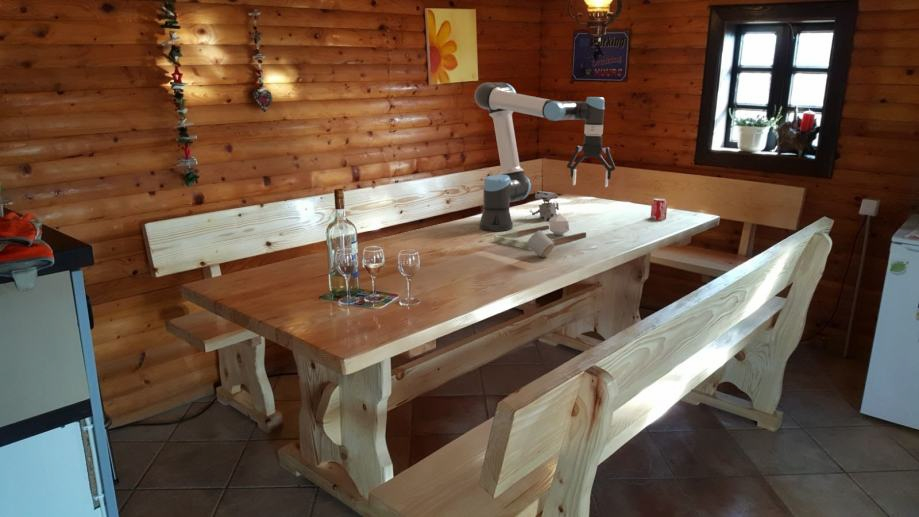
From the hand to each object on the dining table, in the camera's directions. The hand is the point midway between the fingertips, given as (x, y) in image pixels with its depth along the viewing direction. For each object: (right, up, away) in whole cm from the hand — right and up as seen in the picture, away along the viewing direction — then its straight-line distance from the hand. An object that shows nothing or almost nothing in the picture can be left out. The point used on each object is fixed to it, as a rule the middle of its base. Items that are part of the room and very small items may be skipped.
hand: (589, 185), depth 285 cm
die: (-12, -21, +5) cm, 25 cm away
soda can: (+39, -15, +33) cm, 53 cm away
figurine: (-15, -14, +35) cm, 40 cm away
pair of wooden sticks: (-21, -23, -3) cm, 31 cm away
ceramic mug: (-24, -30, -30) cm, 49 cm away
